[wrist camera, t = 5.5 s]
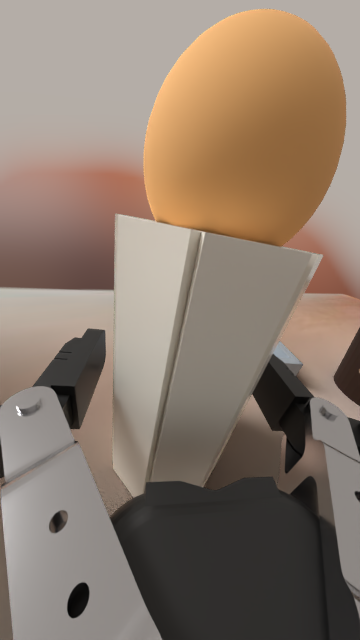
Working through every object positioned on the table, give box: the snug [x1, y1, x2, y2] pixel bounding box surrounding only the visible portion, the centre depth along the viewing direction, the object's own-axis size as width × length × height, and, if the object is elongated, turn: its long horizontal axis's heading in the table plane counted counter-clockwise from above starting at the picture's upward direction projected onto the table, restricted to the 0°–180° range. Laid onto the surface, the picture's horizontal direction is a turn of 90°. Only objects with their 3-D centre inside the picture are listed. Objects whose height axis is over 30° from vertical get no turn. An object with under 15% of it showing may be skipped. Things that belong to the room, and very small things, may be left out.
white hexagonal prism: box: [112, 214, 323, 497], centre depth 9 cm, size 6×6×12 cm
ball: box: [144, 9, 346, 247], centre depth 5 cm, size 5×5×5 cm
